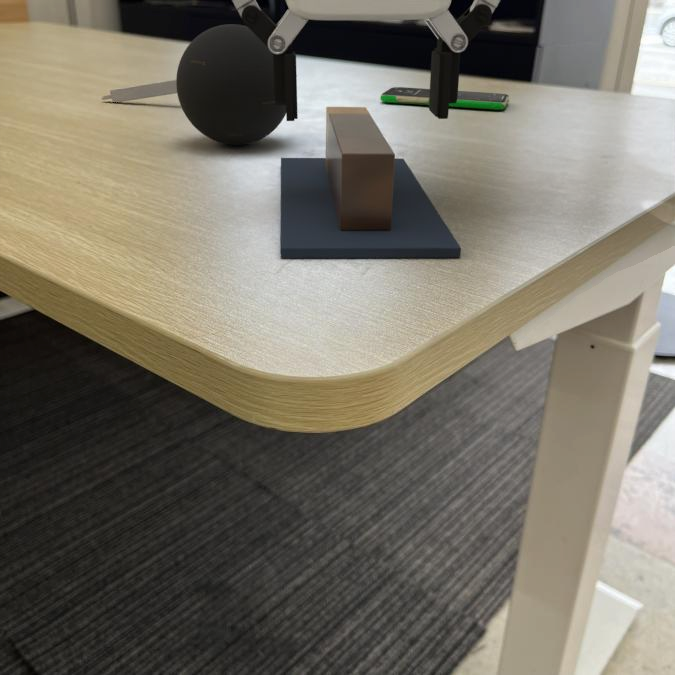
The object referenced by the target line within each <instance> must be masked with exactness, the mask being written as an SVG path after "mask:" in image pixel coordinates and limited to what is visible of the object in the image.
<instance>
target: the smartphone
mask: <svg viewBox="0 0 675 675" xmlns="http://www.w3.org/2000/svg"><path fill="white" fill-rule="evenodd" d="M429 96H430V88H422V87H421V88H419V87H404V86H397V87H396V86H394V87H390V88H389V89H388V90H386V91H384V92H382V93H381V95H380V97H379V99H380V101H381V102H383V103H392V104H407V105H420V106H421V105H423V106H429ZM509 102H510V95H509V94H506V93H497V92H483V91H482V92H481V91H467V90H466V91H465V90H458V97H457V102H456V103H449V108H465V109H481V110H494V111H498V110H499V111H500V110H503V109H505V108H506V107H507V105H508V104H509Z"/></svg>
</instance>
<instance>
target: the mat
mask: <svg viewBox="0 0 675 675" xmlns="http://www.w3.org/2000/svg"><path fill="white" fill-rule="evenodd" d="M279 248H280V258H281V259H407V258H408V259H413V258H414V259H422V258H423V259H427V258H428V259H432V258H433V259H437V258H438V259H439V258H441V259H442V258H443V259H448V258H449V259H450V258H453V259H455V258H457V259H459V258H461V252H462V247H461V246H460V244H459V243H458V241H457V240H456V238H455V236H454V235H453V233H452V232H451V230H450V229H449V227H448V226H447V224H446V223H445V221H444V219H443V218H442V216H441V215H440V213H439V212H438V210H437V209H436V207H435V205H434V204H433V203H432V201H431V199H430V198H429V196H428V195H427V193H426V192H425V190H424V188H423V187H422V185H421V184H420V182H419V181H418V179H417V178H416V176H415V174H414V173H413V171H412V170H411V168H410V167H409V165H408V164H407V162H406V160H405V159H404V158H395V163H394V181H393V199H392V217H391V230H340V227H339V223H338V218H337V214H336V210H335V205H334V201H333V196H332V192H331V188H330V183H329V179H328V175H327V170H326V157H281V158H280V246H279Z"/></svg>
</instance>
